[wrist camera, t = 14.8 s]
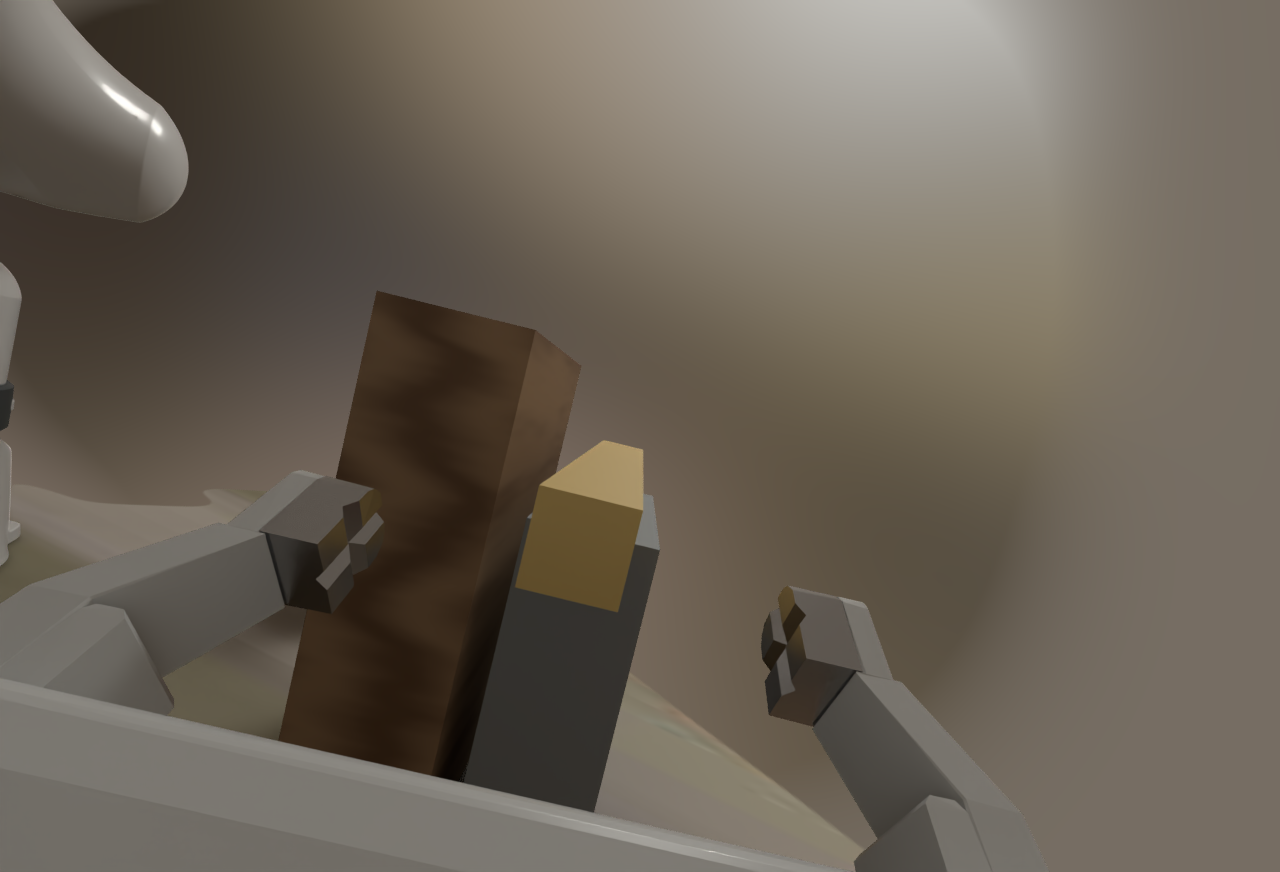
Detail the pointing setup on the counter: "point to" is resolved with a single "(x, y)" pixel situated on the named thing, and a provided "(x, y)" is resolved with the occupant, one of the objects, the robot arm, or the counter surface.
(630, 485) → the long yellow rectangular block
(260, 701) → the counter surface
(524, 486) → the brown flat block
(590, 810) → the upright grey slab
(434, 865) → the robot arm
